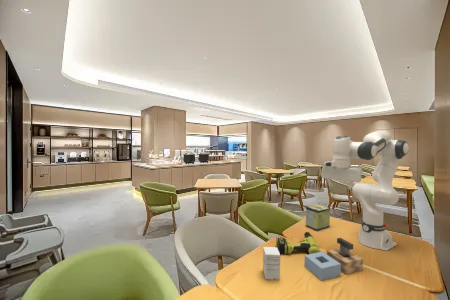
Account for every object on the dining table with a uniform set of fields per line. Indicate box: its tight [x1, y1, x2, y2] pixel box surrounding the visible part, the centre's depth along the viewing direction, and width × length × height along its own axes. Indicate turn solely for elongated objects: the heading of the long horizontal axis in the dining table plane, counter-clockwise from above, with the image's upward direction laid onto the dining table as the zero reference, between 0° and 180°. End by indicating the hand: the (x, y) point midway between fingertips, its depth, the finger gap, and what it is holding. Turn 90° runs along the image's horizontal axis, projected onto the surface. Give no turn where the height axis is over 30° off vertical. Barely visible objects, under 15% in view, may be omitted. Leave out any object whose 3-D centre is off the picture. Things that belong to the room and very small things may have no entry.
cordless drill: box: [275, 231, 321, 255], centre depth 133 cm, size 7×25×25 cm
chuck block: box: [303, 251, 342, 281], centre depth 108 cm, size 12×12×6 cm
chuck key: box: [336, 237, 354, 258], centre depth 113 cm, size 8×3×13 cm, turn 18°
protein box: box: [305, 203, 331, 232], centre depth 163 cm, size 10×16×16 cm
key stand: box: [326, 247, 364, 275], centre depth 113 cm, size 12×12×6 cm
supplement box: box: [262, 246, 281, 280], centre depth 104 cm, size 7×7×13 cm
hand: (339, 187), depth 121 cm, fingers open, 8 cm apart
